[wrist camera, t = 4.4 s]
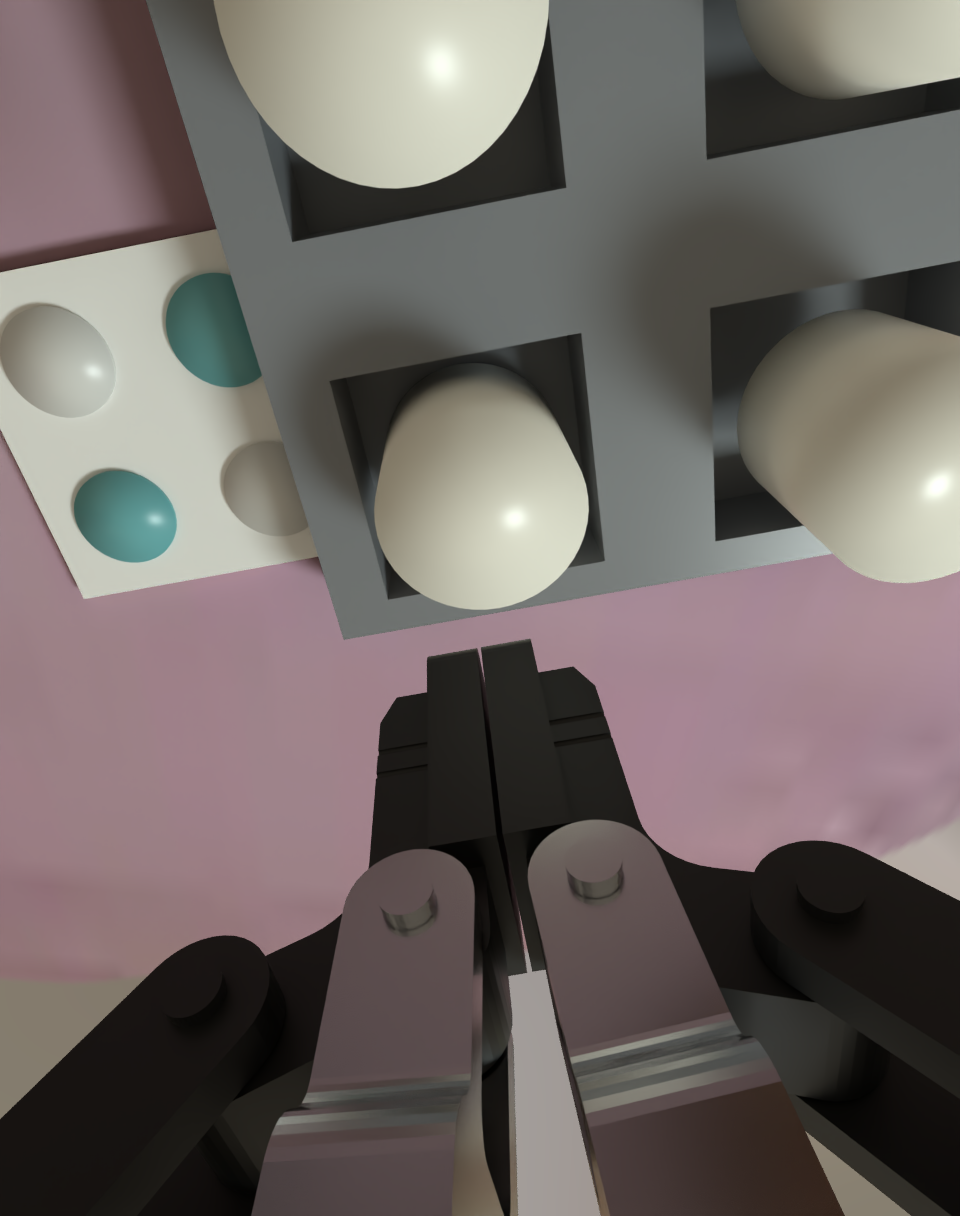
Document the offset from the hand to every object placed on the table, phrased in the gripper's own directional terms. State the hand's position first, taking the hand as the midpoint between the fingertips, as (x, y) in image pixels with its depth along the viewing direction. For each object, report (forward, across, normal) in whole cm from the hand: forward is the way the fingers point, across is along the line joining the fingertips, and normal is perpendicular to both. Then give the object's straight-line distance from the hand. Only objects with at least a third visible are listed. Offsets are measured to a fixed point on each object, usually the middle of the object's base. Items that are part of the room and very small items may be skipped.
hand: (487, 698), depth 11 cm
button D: (+9, -9, 0) cm, 13 cm away
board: (+12, -5, -4) cm, 14 cm away
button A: (+9, 0, -9) cm, 13 cm away
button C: (+11, 0, 0) cm, 11 cm away
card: (+12, +8, -2) cm, 15 cm away
